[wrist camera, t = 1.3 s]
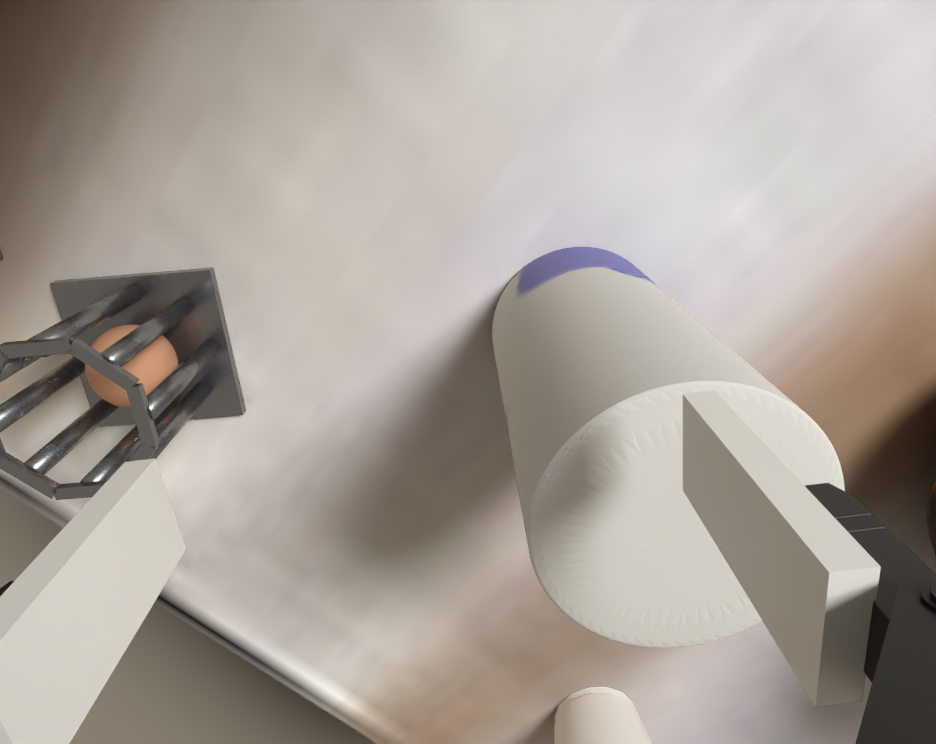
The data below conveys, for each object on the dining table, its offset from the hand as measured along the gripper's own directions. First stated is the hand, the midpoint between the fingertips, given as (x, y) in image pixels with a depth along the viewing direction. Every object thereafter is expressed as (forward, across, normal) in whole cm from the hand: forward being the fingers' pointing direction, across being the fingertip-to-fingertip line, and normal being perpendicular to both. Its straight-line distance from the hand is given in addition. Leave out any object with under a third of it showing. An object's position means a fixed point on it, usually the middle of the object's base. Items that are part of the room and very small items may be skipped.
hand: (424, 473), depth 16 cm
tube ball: (+20, -17, -3) cm, 26 cm away
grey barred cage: (+23, -17, -3) cm, 29 cm away
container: (+23, +8, -5) cm, 25 cm away
